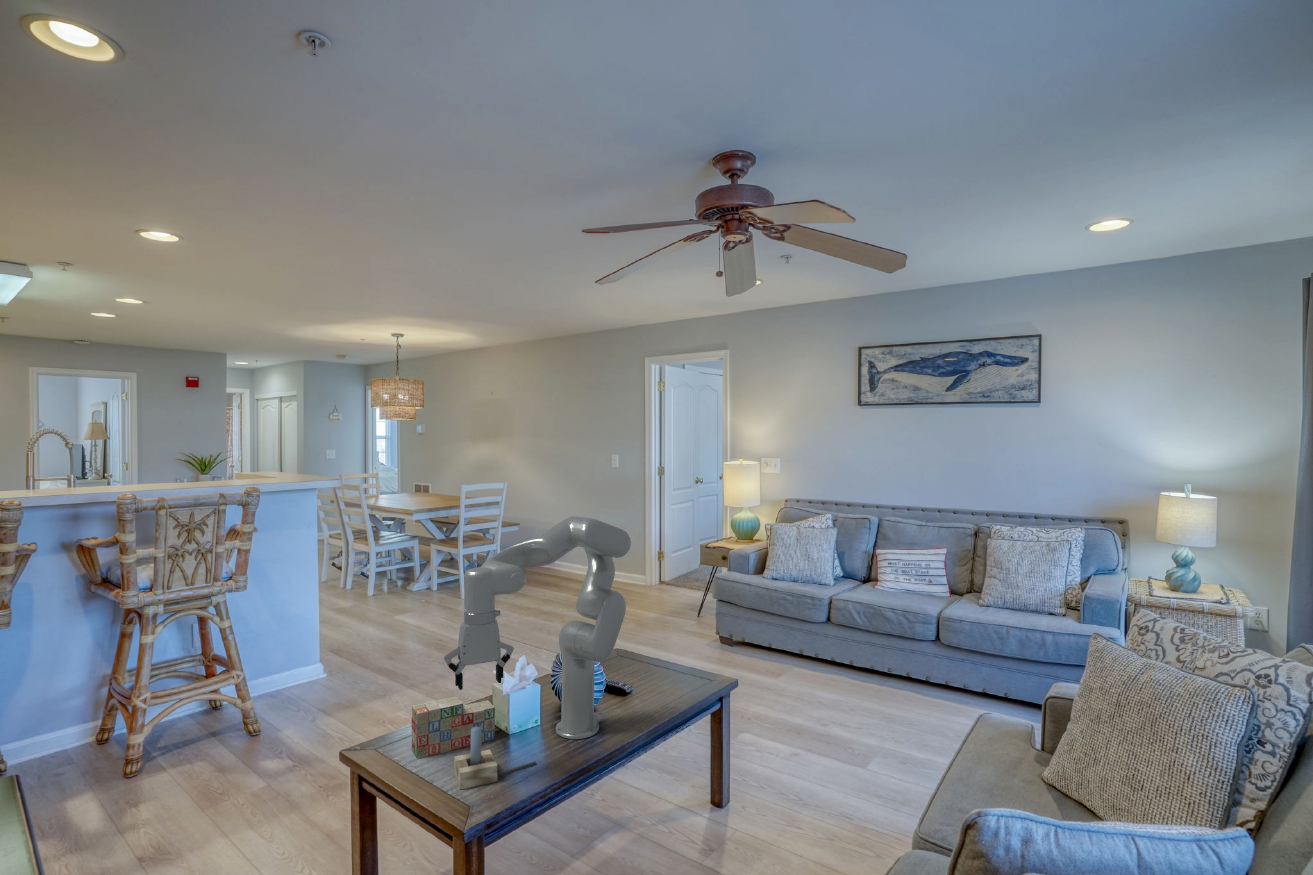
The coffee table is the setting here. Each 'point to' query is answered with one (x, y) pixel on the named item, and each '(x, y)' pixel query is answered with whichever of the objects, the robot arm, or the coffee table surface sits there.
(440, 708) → the stack of blocks
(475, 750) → the grey peg
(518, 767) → the dark brown rod
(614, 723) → the coffee table surface
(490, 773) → the beige hollow block
